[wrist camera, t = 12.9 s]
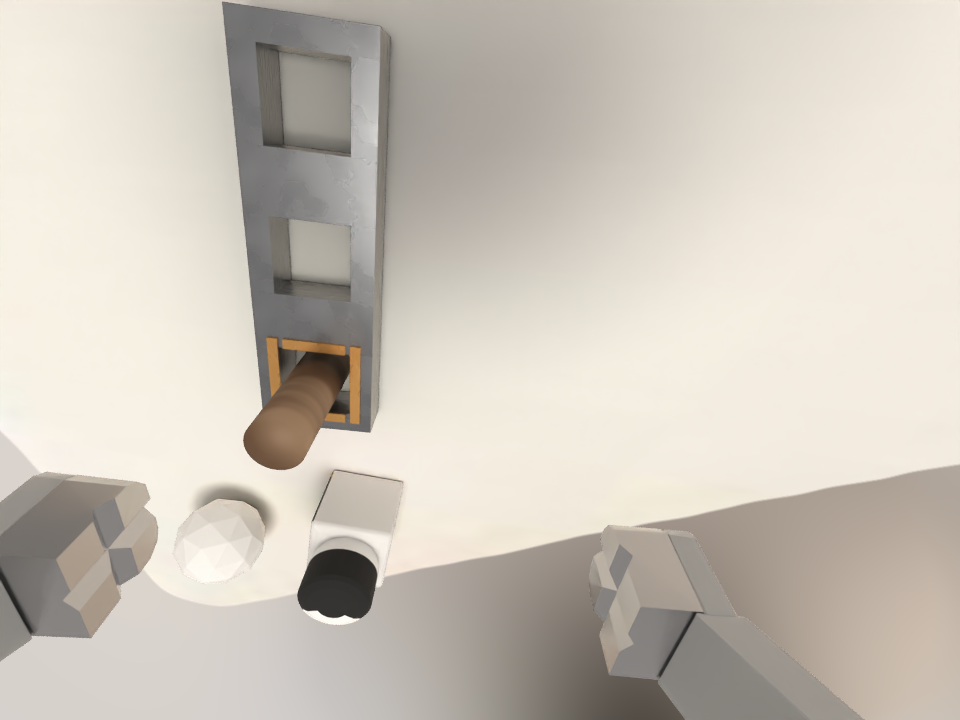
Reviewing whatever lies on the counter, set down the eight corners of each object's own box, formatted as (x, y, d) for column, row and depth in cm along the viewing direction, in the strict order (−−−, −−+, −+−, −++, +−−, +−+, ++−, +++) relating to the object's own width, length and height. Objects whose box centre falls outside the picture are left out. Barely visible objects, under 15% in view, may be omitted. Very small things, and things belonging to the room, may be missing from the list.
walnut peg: (331, 333, 39) (275, 409, 28) (360, 368, 41) (319, 452, 30) (296, 356, 40) (230, 438, 29) (326, 389, 42) (274, 478, 31)
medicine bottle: (333, 468, 46) (289, 571, 35) (404, 480, 46) (382, 585, 36) (327, 519, 49) (284, 629, 38) (393, 530, 49) (370, 641, 39)
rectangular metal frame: (249, 15, 29) (220, 0, 26) (390, 37, 30) (380, 25, 26) (279, 400, 42) (262, 423, 39) (378, 410, 43) (369, 433, 39)
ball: (270, 495, 51) (289, 562, 46) (200, 534, 49) (213, 607, 45) (230, 472, 44) (247, 546, 40) (149, 515, 43) (157, 598, 39)
